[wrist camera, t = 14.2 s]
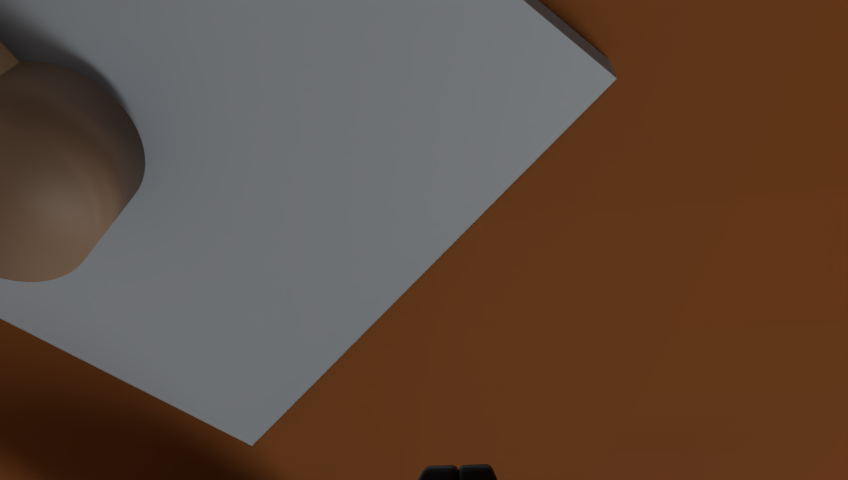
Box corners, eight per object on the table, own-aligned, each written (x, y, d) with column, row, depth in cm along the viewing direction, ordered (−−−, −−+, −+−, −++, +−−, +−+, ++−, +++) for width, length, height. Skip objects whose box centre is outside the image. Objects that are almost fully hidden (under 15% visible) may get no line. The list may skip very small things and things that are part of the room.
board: (260, 419, 27) (250, 450, 26) (-335, 110, 21) (-382, 131, 20) (610, 59, 18) (619, 80, 17) (-245, -663, 12) (-323, -706, 11)
